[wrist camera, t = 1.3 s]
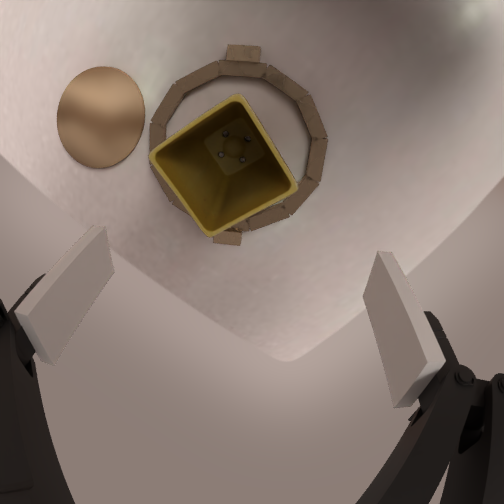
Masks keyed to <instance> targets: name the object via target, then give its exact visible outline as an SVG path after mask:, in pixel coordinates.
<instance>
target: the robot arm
mask: <svg viewBox="0 0 504 504" xmlns="http://www.w3.org/2000/svg"><path fill="white" fill-rule="evenodd" d="M113 274H114V269H113V264H112V259H111V254H110V249H109V244H108V238H107V233H106V227H105V226H92V227H91V228H90V229H89V230H88V231H87V232H86V233H85V234H84V235H83V236H82V237H81V238H80V239H79V240H78V241H77V242H76V243H75V244H74V245H73V246H72V247H71V248H70V249H69V250H68V251H67V252H66V253H65V254H64V255H63V256H62V257H61V258H60V259H59V261H58V262H57V263H56V264H55V265H54V266H53V267H52V268H51V269H50V270H49V271H48V272H47V274H43V275H42V276H40V277H39V278H37V279H36V280H35V281H34V282H33V283H32V284H31V286H30V288H28V289H27V290H26V291H25V294H23V295H22V296H21V297H20V298H19V299H18V301H17V302H16V303H15V304H14V306H13V307H12V308H11V309H10V310H9V312H8V313H7V311H6V309H5V307H4V304H3V302H2V300H1V299H0V504H75V502H74V500H73V498H72V495H71V493H70V491H69V488H68V486H67V483H66V480H65V478H64V475H63V473H62V470H61V467H60V464H59V461H58V458H57V455H56V452H55V449H54V446H53V443H52V439H51V436H50V432H49V428H48V425H47V421H46V417H45V413H44V408H43V404H42V399H41V394H40V389H39V384H38V379H37V373H36V367H35V362H34V359H33V358H32V356H33V355H34V353H35V352H36V353H37V355H38V357H39V358H40V360H41V361H42V362H45V363H48V364H51V365H53V366H54V365H55V364H56V362H57V360H58V359H59V357H60V355H61V354H62V352H63V350H64V349H65V347H66V345H67V343H68V342H69V340H70V338H71V337H72V335H73V334H74V332H75V331H76V329H77V327H78V326H79V324H80V322H81V321H82V319H83V318H84V316H85V315H86V313H87V311H88V310H89V309H90V307H91V306H92V304H93V303H94V301H95V300H96V298H97V297H98V295H99V294H100V292H101V291H102V289H103V287H104V286H105V285H106V284H107V282H108V281H109V279H110V278H111V276H112V275H113ZM363 299H364V302H365V305H366V309H367V311H368V315H369V318H370V321H371V324H372V328H373V331H374V335H375V338H376V341H377V344H378V348H379V352H380V355H381V359H382V363H383V366H384V370H385V374H386V377H387V381H388V385H389V390H390V393H391V398H392V402H393V406H394V408H400V407H410V406H412V405H413V403H414V402H415V401H416V400H417V399H419V402H420V407H419V408H418V409H417V410H416V411H415V412H414V414H413V415H412V416H411V417H410V418H409V419H408V420H409V421H411V422H410V424H409V425H408V427H407V429H406V430H405V432H404V434H403V436H402V437H401V439H400V441H399V442H398V444H397V446H396V447H395V449H394V450H393V452H392V454H391V455H390V457H389V458H388V460H387V461H386V463H385V464H384V466H383V467H382V469H381V470H380V472H379V473H378V474H377V476H376V477H375V479H374V480H373V482H372V483H371V484H370V486H369V487H368V488H367V490H366V491H365V492H364V494H363V495H362V496H361V498H360V499H359V500H358V501H357V503H356V504H429V502H430V500H431V498H432V496H433V495H434V493H435V491H436V489H437V487H438V485H439V483H440V481H441V479H442V477H443V475H444V473H445V471H446V469H447V466H448V464H449V462H450V464H449V468H448V473H447V477H446V482H445V486H444V490H443V493H442V497H441V501H440V504H504V374H502V373H498V374H496V375H495V376H494V377H493V378H492V379H491V381H485V380H480V379H476V377H475V375H474V373H473V372H472V370H470V369H469V368H468V367H466V366H463V365H459V363H458V361H457V358H456V356H455V354H454V351H453V349H452V347H451V345H450V343H449V341H448V339H447V338H446V334H445V333H444V331H443V328H442V326H441V324H440V323H439V320H438V319H437V318H436V317H435V316H434V315H433V314H432V313H431V312H429V311H428V312H427V311H423V310H422V308H421V306H420V304H419V302H418V300H417V298H416V296H415V294H414V292H413V290H412V288H411V286H410V285H409V282H408V281H407V279H406V277H405V275H404V273H403V271H402V270H401V268H400V266H399V264H398V262H397V261H396V259H395V257H394V255H393V254H392V252H384V251H377V254H376V258H375V261H374V264H373V267H372V270H371V274H370V277H369V280H368V283H367V286H366V289H365V291H364V294H363Z"/></svg>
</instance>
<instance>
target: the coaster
mask: <svg viewBox="0 0 504 504" xmlns="http://www.w3.org/2000/svg"><path fill="white" fill-rule="evenodd" d="M144 122H145V107H144V101H143V97H142V94H141V92H140V90H139V88H138V86H137V84H136V83H135V82H134V81H133V79H132V78H131V77H130V76H129V75H127V74H126V73H124V72H123V71H121V70H119V69H116V68H112V67H95V68H91V69H88V70H86V71H84V72H82V73H80V74H79V75H78V76H76V77H75V78H74V79H73V80H72V81H71V82H70V83H69V85H68V86H67V87H66V89H65V91H64V93H63V95H62V97H61V99H60V102H59V106H58V111H57V128H58V133H59V136H60V139H61V142H62V144H63V146H64V147H65V149H66V151H67V152H68V153H69V154H70V155H71V156H72V157H73V158H74V159H75V160H76V161H77V162H79V163H81V164H83V165H85V166H88V167H92V168H104V167H109V166H112V165H114V164H116V163H118V162H120V161H121V160H123V159H124V158H125V157H127V156H128V155H129V154H130V153H131V152H132V150H133V149H134V148H135V146H136V145H137V143H138V141H139V139H140V137H141V134H142V131H143V127H144Z"/></svg>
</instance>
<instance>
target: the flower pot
mask: <svg viewBox="0 0 504 504" xmlns="http://www.w3.org/2000/svg"><path fill="white" fill-rule="evenodd" d="M225 131H227V132H228V136H227V137H225V136H224V135H223V132H225ZM246 136H249V137H250V138H251V139H250V141H246V140H245V137H246ZM220 152H223V153H224V156H223V157H220V156H219V153H220ZM241 157H244V158H245V161H244V162H241V161H240V158H241ZM149 159H150V161H151V163H152V164H153V165H154V167H155V168H156V169H157V171H158V172H159V173H160V175H161V176H162V177H163V178H164V180H165V181H166V182H167V184H168V185H169V186H170V188H171V189H172V190H173V191H174V193H175V194H176V195H177V197H178V198H179V199H180V201H181V202H182V204H183V205H184V207H185V208H186V209H187V211H188V212H189V214H190V215H191V217H192V218H193V219H194V221H195V222H196V223H197V225H198V226H199V228H200V229H201V230H202V232H203V233H204V234H205V235H206V236H207V237H209V238H210V237H213V236H215V235H217V234H219V233H221V232H222V231H224V230H226V229H228V228H230V227H231V226H233V225H235V224H237V223H239V222H240V221H242V220H244V219H246V218H248V217H250V216H252V215H253V214H255V213H257V212H259V211H261V210H263V209H265V208H267V207H269V206H271V205H273V204H275V203H277V202H278V201H280V200H282V199H284V198H286V197H288V196H290V195H292V194H293V193H295V192H296V191H298V184H297V182H296V180H295V178H294V177H293V175H292V173H291V171H290V170H289V168H288V166H287V165H286V163H285V161H284V160H283V158H282V157H281V155H280V153H279V152H278V150H277V148H276V147H275V145H274V143H273V142H272V140H271V138H270V137H269V135H268V134H267V132H266V130H265V129H264V127H263V125H262V124H261V122H260V121H259V119H258V118H257V116H256V114H255V113H254V111H253V110H252V108H251V107H250V105H249V103H248V102H247V100H246V99H245V98H244V97H243V96H242V95H241V94H234V95H232V96H230V97H229V98H227V99H226V100H224V101H222V102H221V103H219V104H218V105H216V106H215V107H213V108H212V109H210V110H209V111H207V112H206V113H204V114H203V115H201V116H200V117H198V118H197V119H195V120H194V121H192V122H191V123H189V124H188V125H187V126H185V127H184V128H182V129H181V130H179V131H178V132H177V133H175V134H174V135H172V136H171V137H169V138H168V139H166V140H165V141H164V142H162V143H161V144H160V145H158V146H157V147H156V148H154V149H153V150H152V151H151V152H150V154H149Z"/></svg>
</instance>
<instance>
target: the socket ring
mask: <svg viewBox="0 0 504 504" xmlns="http://www.w3.org/2000/svg"><path fill="white" fill-rule="evenodd" d="M260 53H261V47H258V46H245V45H228V47H227V56H226V60H219V63H218V61H215V62H213V63H210V64H208V65H206V66H204V67H202V68H200V69H198V70H196V71H195V72H193V73H191V74H189V75H187V76H185V77H183V78H181V79H179V80H178V81H176V84H173V85H172V86H171V88H170V89H169V91H168V93H167V94H166V96H165V97H164V99H163V101H162V102H161V104H160V106H159V107H158V109H157V111H156V112H155V114H154V116H153V117H152V119H151V121H152V122H153V123H150V152H151V151H152V150H153V149H154V148H156V147H157V146H158V145H160V144H161V143H162V142H164V141H165V140H166V124H167V123H168V121H169V119H170V118H171V116H172V115H173V113H174V111H175V110H176V108H177V107H178V105H179V104H180V102H181V100H182V99H183V97H184V96H185V94H186V93H187V92H189V91H191V90H193V89H195V88H197V87H199V86H201V85H203V84H205V83H207V82H209V81H211V80H213V79H215V78H217V77H219V76H221V75H230V76H245V77H256V78H264V79H265V80H267V81H268V82H269V83H271V84H272V85H274V86H275V87H277V88H278V89H279V90H281V91H282V92H284V93H285V94H286V95H288V96H289V97H291V98H292V99H293V100H295V101H296V102H297V104H298V107H299V109H300V111H301V114H302V116H303V118H304V121H305V123H306V125H307V128H308V130H309V133H310V135H311V144H310V151H309V157H308V163H307V169H306V175H305V176H304V177H303V178H302V179H301V181H300V182H299V183H298V191H296V192H295V193H293V194H292V195H290V196H288V197H286V198H285V199H284V201H283V202H282V203H279V204H276V205H274V206H271V207H268V208H266V209H263V210H261V211H259V212H257V213H255V214H253V215H252V216H250V217H248V218H246V219H244V220H242V221H240V222H239V223H237V224H235V225H233V226H231V227H230V228H228V229H226V230H224V231H222V232H221V233H219V234H217V235H215V236H214V242H213V243H220V244H229V245H237V246H240V244H241V239H242V231H249V227H250V229H251V231H253V230H256V229H258V228H261V227H264V226H267V225H269V224H272V223H275V222H277V221H280V220H283V219H286V218H288V217H290V216H289V214H291V215H293V214H294V213H295V211H296V210H297V209H298V208H299V207H300V206H301V205H302V203H303V202H304V201H305V200H306V199H307V198H308V197H309V195H310V194H311V193H312V192H313V191H314V190H315V188H316V187H317V186H318V185H319V183H318V181H319V182H320V181H321V176H322V171H323V165H324V159H325V154H326V148H327V142H328V139H327V138H325V137H328V136H327V134H326V131H325V129H324V126H323V123H322V121H321V119H320V116H319V114H318V111H317V109H316V106H315V104H314V102H313V99H312V97H311V95H307V93H308V91H306V90H305V89H304V88H302V87H301V86H300V85H298V84H297V83H296V82H294V81H293V80H291V79H290V78H289V77H287V76H286V75H284V74H283V73H281V72H280V71H279V70H277V69H276V68H274V67H273V66H271V65H269V67H268V68H267V64H266V63H259V62H260ZM306 95H307V96H306ZM150 164H152V163H151V161H150ZM151 169H152V171H153V173H154V174H155V176H156V178H157V180H158V182H159V183H160V185H161V187H162V189H163V190H164V192H165V194H166V196H167V197H168V199H169V201H170V202H171V201H173V200H174V202H173V203H172V204H173V205H174V206H176V207H177V208H179V209H180V210H182V211H184V212H185V213H187V214H188V215H190V214H189V212H188V211H187V209H186V208H185V207H184V205H183V204H182V202H181V201H180V199H179V198H178V197H177V195H176V194H175V193H174V191H173V190H172V189H171V188H170V186H169V185H168V184H167V182H166V181H165V180H164V178H163V177H162V176H161V175H160V173H159V172H158V171H157V169H156V168H155V167H154V165H153V166H151ZM190 216H191V215H190Z"/></svg>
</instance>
